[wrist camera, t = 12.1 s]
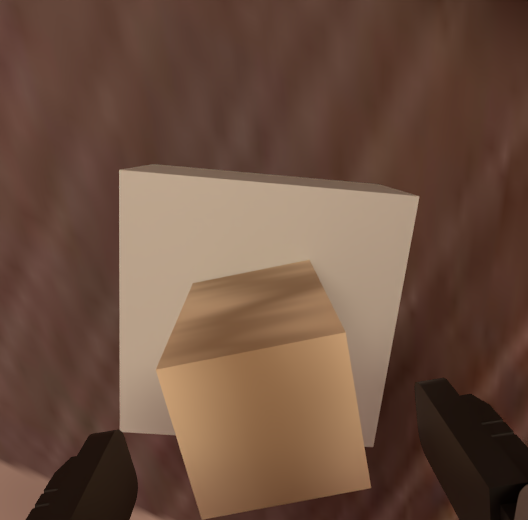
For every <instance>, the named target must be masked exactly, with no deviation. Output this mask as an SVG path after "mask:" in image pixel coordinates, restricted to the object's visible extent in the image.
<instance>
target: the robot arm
mask: <svg viewBox="0 0 528 520" xmlns="http://www.w3.org/2000/svg"><path fill="white" fill-rule="evenodd" d="M415 400H416V411H417V422H418V432H419V437H420V442H421V445H422V448H423V451H424V453H425V456H426V458H427V460H428V462H429V463H430V465H431V467H432V469H433V471H434V473H435V475H436V477H437V478H438V480H439V482H440V484H441V486H442V488H443V490H444V492H445V493H446V495H447V497H448V499H449V501H450V503H451V505H452V506H453V508H454V510H455V512H456V514H457V516H458V518H459V520H528V448H527V446H526V445H525V444H524V443H523V442H522V441H521V440H520V439H519V437H518V436H517V435H514V433H513V431H512V429H511V428H510V427H509V426H508V425H507V424H506V423H505V422H503V419H502V418H501V417H500V416H499V415H498V414H497V413H496V411H495V410H494V409H493V408H492V407H491V406H490V405H489V404H487V403H486V402H484V401H482V400H480V399H479V398H477V397H475V396H474V395H472V394H467V395H461V396H459V394H458V393H457V392H456V390H455V389H454V388H453V387H452V385H451V384H450V383H449V382H448V381H447V379H445V378H439V379H433V380H427V381H421V382H416V383H415ZM137 491H138V482H137V476H136V472H135V469H134V466H133V463H132V459H131V456H130V453H129V450H128V447H127V444H126V441H125V437H124V435H123V433H122V431H120V430H113V431H107V432H101V433H95V434H91V435H90V436H89V437H88V438H87V440H86V441H85V443H84V445H83V447H82V448H81V450H80V452H79V453H78V455H77V456H75V457H71V458H70V459H69V460H68V461H67V462H66V463H65V464H64V465H63V466H62V467H60V468H59V469H58V470H57V471H56V472H55V473H54V475H53V477H52V478H51V480H50V481H49V483H48V485H47V486H46V488H45V489H44V494H41V496H40V498H39V499H38V501H37V503H36V504H35V508H34V509H32V510H31V512H30V514H29V515H28V517H27V519H26V520H129V519H130V517H131V514H132V511H133V508H134V505H135V502H136V498H137Z"/></svg>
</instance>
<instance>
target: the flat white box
mask: <svg viewBox="0 0 528 520" xmlns="http://www.w3.org/2000/svg"><path fill="white" fill-rule="evenodd" d="M418 201H419V196H417V195H414V194H410V193H407V192H404V191H400V190H397V189H393V188H390V187H387V186H383V185H380V184H371V183H360V182H349V181H338V180H326V179H315V178H304V177H292V176H281V175H270V174H259V173H247V172H236V171H225V170H214V169H202V168H191V167H180V166H168V165H157V164H151V165H145V166H140V167H134V168H128V169H122V170H119V270H120V431H122V432H131V433H148V434H164V435H176V434H175V431H174V428H173V424H172V421H171V418H170V415H169V411H168V408H167V405H166V402H165V398H164V395H163V392H162V389H161V385H160V382H159V379H158V376H157V372H156V368H157V366H158V363H159V361H160V359H161V356H162V354H163V352H164V349H165V347H166V345H167V342H168V340H169V338H170V335H171V333H172V331H173V328H174V326H175V324H176V321H177V319H178V317H179V314H180V312H181V310H182V307H183V305H184V303H185V300H186V298H187V296H188V293H189V291H190V289H191V286H192V284H193V283H197V282H202V281H207V280H212V279H217V278H222V277H226V276H231V275H236V274H241V273H246V272H251V271H256V270H261V269H266V268H271V267H276V266H281V265H286V264H291V263H296V262H301V261H306V260H310V262H311V264H312V266H313V268H314V270H315V272H316V274H317V276H318V278H319V280H320V282H321V284H322V286H323V288H324V290H325V292H326V294H327V296H328V298H329V300H330V302H331V304H332V306H333V308H334V310H335V312H336V314H337V316H338V318H339V320H340V322H341V324H342V326H343V328H344V330H345V332H346V337H347V343H348V349H349V356H350V362H351V368H352V374H353V380H354V386H355V392H356V398H357V405H358V411H359V417H360V423H361V429H362V435H363V441H364V447H373V445H374V440H375V435H376V429H377V424H378V418H379V413H380V407H381V402H382V397H383V391H384V386H385V380H386V375H387V369H388V364H389V359H390V353H391V348H392V342H393V337H394V331H395V326H396V321H397V315H398V310H399V304H400V299H401V293H402V288H403V283H404V277H405V272H406V266H407V261H408V255H409V250H410V245H411V239H412V234H413V228H414V223H415V217H416V212H417V207H418Z"/></svg>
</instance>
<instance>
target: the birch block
mask: <svg viewBox="0 0 528 520" xmlns="http://www.w3.org/2000/svg"><path fill="white" fill-rule="evenodd" d="M156 372H157V376H158V379H159V382H160V385H161V389H162V392H163V395H164V398H165V402H166V405H167V408H168V411H169V415H170V418H171V421H172V424H173V428H174V431H175V434H176V437H177V441H178V444H179V447H180V451H181V454H182V457H183V460H184V464H185V467H186V470H187V473H188V477H189V480H190V483H191V486H192V490H193V493H194V496H195V499H196V503H197V506H198V509H199V512H200V516H201V519H202V520H203V519H208V518H213V517H219V516H224V515H230V514H235V513H240V512H246V511H251V510H256V509H262V508H267V507H272V506H278V505H283V504H289V503H294V502H299V501H305V500H310V499H315V498H321V497H326V496H331V495H337V494H342V493H348V492H353V491H358V490H364V489H369V488H371V484H370V478H369V472H368V466H367V460H366V453H365V447H364V441H363V435H362V429H361V423H360V417H359V411H358V405H357V398H356V392H355V386H354V380H353V374H352V368H351V362H350V356H349V349H348V343H347V337H346V332H345V330H344V328H343V326H342V324H341V322H340V320H339V318H338V316H337V314H336V312H335V310H334V308H333V306H332V304H331V302H330V300H329V298H328V296H327V294H326V292H325V290H324V288H323V286H322V284H321V282H320V280H319V278H318V276H317V274H316V272H315V270H314V268H313V266H312V264H311V262H310V260H306V261H301V262H296V263H291V264H286V265H281V266H276V267H271V268H266V269H261V270H256V271H251V272H246V273H241V274H236V275H231V276H226V277H222V278H217V279H212V280H207V281H202V282H197V283H193V284H192V286H191V289H190V291H189V293H188V296H187V298H186V300H185V303H184V305H183V307H182V310H181V312H180V314H179V317H178V319H177V321H176V324H175V326H174V328H173V331H172V333H171V335H170V338H169V340H168V342H167V345H166V347H165V349H164V352H163V354H162V356H161V359H160V361H159V363H158V366H157V368H156Z"/></svg>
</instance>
